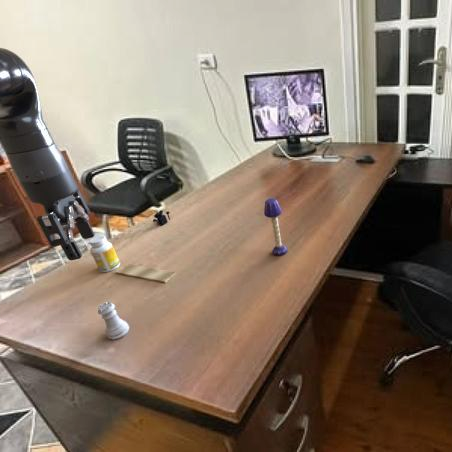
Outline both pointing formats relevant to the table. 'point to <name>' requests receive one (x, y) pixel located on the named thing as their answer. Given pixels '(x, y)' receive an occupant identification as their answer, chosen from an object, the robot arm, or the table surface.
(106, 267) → the supplement bottle
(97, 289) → the table surface
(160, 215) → the wireless earbuds
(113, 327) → the rook chess piece
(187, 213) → the table surface
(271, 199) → the toy lamp
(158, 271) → the strip
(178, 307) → the table surface
